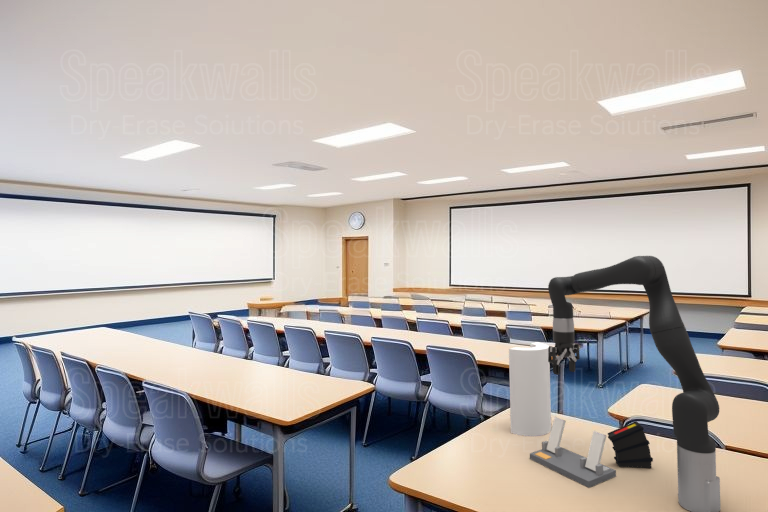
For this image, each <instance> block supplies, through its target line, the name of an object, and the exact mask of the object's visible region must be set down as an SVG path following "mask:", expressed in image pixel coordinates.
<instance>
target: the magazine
mask: <svg viewBox="0 0 768 512" xmlns="http://www.w3.org/2000/svg"><path fill="white" fill-rule="evenodd" d="M644 430H645V429H644V427H643V426H642V425H641V424H640V423H639V421H636V420H635V421H633V422H631V423H628V424H626V425H623V426H621V427H619V428H617V429H614V430H612V431H610V432H607V438H608V439H609V441H610V442H611V444H612V445H613V446H612V450H613V451H614V455H615V456H613V459H614V461H615V464H616V465H617V467H619V468H634V469H636V468H637V469H638V468H639V469H652V462H654V458H653V457H652V456H651V450H650V449H651V448H650V441H649V440H648V438H647V437H646V433H645V431H644Z"/></svg>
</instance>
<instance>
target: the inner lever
mask: <svg viewBox="0 0 768 512" xmlns="http://www.w3.org/2000/svg"><path fill="white" fill-rule="evenodd" d="M606 439H607V434H604V433H600V432H598V431H596V430H593V431H592V435H591V440H590V443H589V449H588V453H587V457H586V458H587V460H586V465H585V467H587V468H589V469H592V470H594V471H596V465H598V464H601V460H602V456H603V451H604V447H605V443H606Z"/></svg>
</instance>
